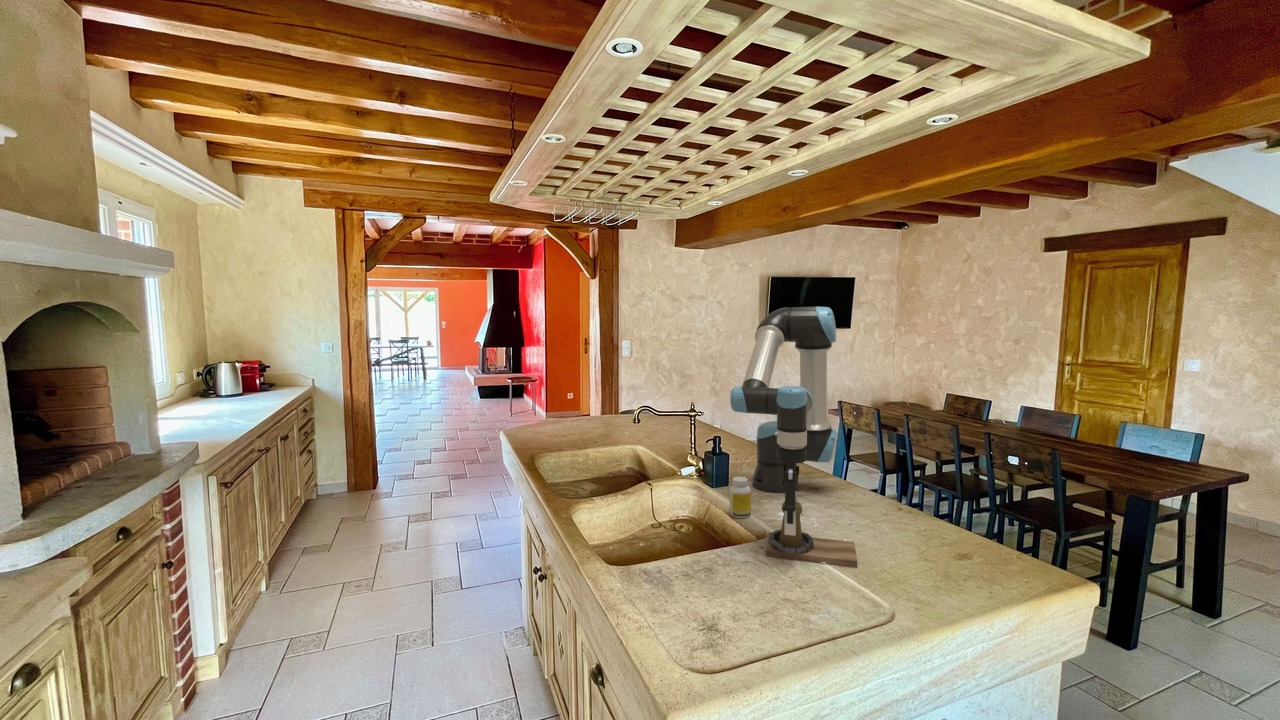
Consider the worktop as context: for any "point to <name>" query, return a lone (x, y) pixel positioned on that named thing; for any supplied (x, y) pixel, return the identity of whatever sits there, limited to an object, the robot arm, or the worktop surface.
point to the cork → (797, 539)
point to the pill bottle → (740, 498)
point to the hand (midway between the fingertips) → (791, 524)
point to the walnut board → (823, 553)
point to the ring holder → (805, 548)
